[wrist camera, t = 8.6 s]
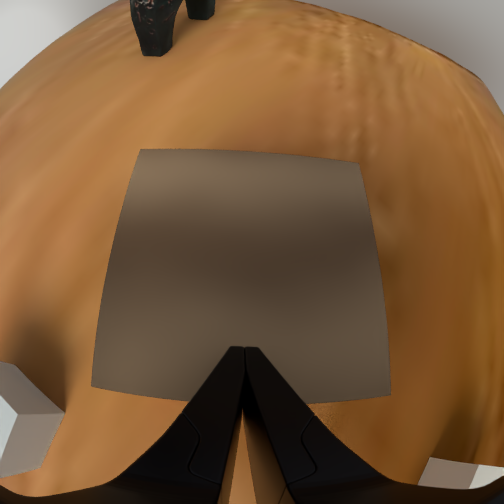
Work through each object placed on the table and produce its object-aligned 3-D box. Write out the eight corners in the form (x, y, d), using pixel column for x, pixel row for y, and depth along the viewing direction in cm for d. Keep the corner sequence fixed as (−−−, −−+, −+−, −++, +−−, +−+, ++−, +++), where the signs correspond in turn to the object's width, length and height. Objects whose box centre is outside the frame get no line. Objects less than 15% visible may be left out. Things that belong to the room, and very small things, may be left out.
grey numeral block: (40, 467, 11) (-8, 479, 7) (-7, 418, 12) (-57, 414, 7) (66, 413, 13) (15, 414, 9) (15, 365, 14) (-35, 350, 9)
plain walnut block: (325, 395, 15) (390, 395, 9) (147, 389, 15) (91, 386, 8) (318, 238, 20) (358, 163, 13) (165, 230, 19) (140, 149, 12)
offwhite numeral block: (444, 522, 11) (487, 537, 6) (397, 520, 11) (440, 544, 7) (471, 464, 13) (520, 468, 8) (429, 456, 13) (480, 464, 9)
